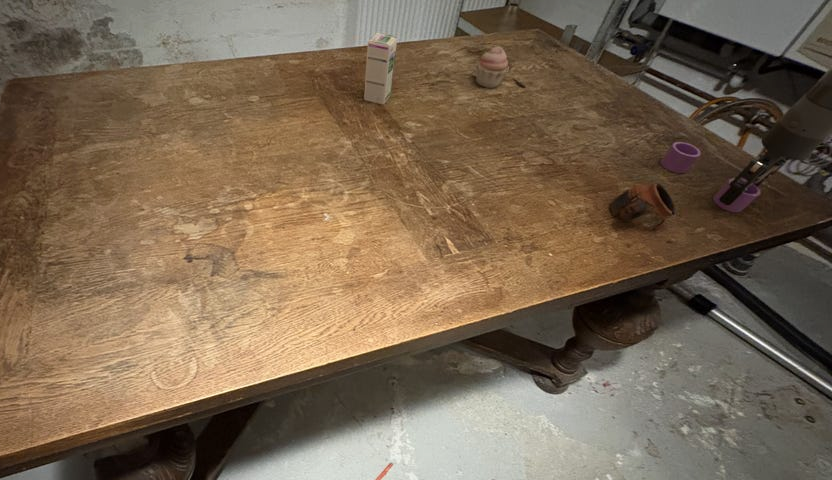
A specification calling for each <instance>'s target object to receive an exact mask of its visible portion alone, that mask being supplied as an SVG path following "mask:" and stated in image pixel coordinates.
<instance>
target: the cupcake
mask: <svg viewBox="0 0 832 480" xmlns="http://www.w3.org/2000/svg"><path fill="white" fill-rule="evenodd" d="M507 57H508V56H507V53H506V51H505V50H504V49H503V48H502V47H501V46H500V45H498V46H494V47H493V48H492V49H490V51H487V52H485V53H483V54H482V55H481V58H480V60H476V64H475V69H476V77H475V80H476V83H477V85H479V86H480V87H483V88H486V89H494V88H497V87H498V86H499V85H500V83H501V82H502V80H503V78H504V76H506V75H507V73H509V72H510V71H509V69H510V66H509V60H508V59H507Z"/></svg>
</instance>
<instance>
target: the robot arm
mask: <svg viewBox="0 0 832 480" xmlns="http://www.w3.org/2000/svg"><path fill="white" fill-rule="evenodd" d="M830 135H832V66H830V67H829V68H828V70H826V71H825V72H824V73H823V75H822V76H821V77H820V78H819V79H818V80H816V82H814V84H813V86H811V87H810V89H808V90H807V92H806V93H804V95H802V96H801V98H799V99H798V100H797V101H796V102H795V103H794V104H792V105H791V106H790V107H789V109H788V110H787V111H786V112H785V113H784V114H783V115H782V116H781V117H780V118H779V119H778V120H777V121H776V122H775V123H774V125H772V127H771V128H770V129H769V130H768V131H767V132H766V134H764V135H763V137H762V138H761V142H760V143H761V144H762V146H763V147H764V148H765V149H766V150H765V151H763V153H762V154H761V153H760V154H758V155H757V156H756V157H754V158H753V159H752V160H750V162H749V163H748V164H747V165H746V166H745V167H744V169H742V170H741V172H739V174H738V175H736V176H735V177H734V178H735V179H734V180H733V181H731V182H730V184H729V186H731V187H730V188H729V189H728V190H727V191H726V192H725V193H724V194H723V195H722V196H721V197H720V199H719V201H720V202H722V203H724V204H726V205H730V204H732V203H733V202H734V201H735V200H736V199H737V198H738V197H739V196H740V195H741V194H742V193H743V192H744V191H746V190H747V189H748V188H749V187H750V186H751V185H752V184H754V185H756V186H757V187H758V188H759V186H760V185H761V184H762V183H764V181H765V180H768V179H769V178H771V176H773V175H775V174H776V173H778V172H779V171H780V169H782V167H784V166H785V165H786V164H787V163H788V161H789V160H804V159H806V158H807V157H808V156H809V155H810V154H811V153H813V152H814V151H815V150H816V149H817V148H818V147H819V146H820V145H821V144H822V143H823V142H824V141H825V140H826V139H827V138H829V137H830ZM742 179H744V180H746V181H747V183H746V184H745V185H744V184H742V183H741V182H740V181H741V180H742Z"/></svg>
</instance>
